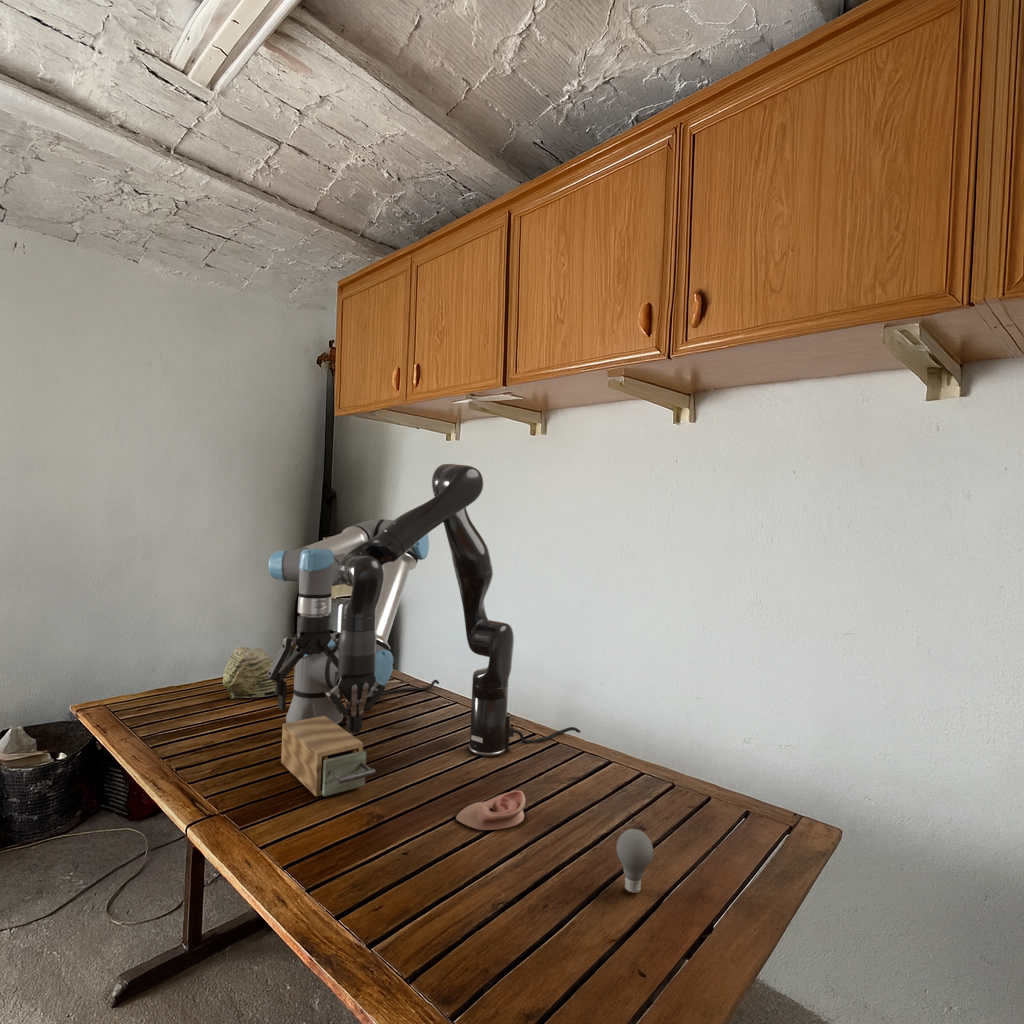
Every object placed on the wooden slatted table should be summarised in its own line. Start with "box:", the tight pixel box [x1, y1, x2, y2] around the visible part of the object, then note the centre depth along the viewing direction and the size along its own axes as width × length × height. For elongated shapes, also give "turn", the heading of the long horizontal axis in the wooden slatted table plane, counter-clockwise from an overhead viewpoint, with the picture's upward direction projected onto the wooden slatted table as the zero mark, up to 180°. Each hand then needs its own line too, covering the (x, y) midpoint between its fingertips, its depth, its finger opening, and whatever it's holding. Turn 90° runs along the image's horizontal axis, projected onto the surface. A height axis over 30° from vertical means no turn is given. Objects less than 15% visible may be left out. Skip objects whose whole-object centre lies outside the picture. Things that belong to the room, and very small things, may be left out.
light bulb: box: [615, 828, 654, 894], centre depth 106 cm, size 6×6×10 cm
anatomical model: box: [455, 789, 526, 831], centre depth 128 cm, size 13×4×12 cm
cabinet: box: [280, 716, 364, 798], centre depth 145 cm, size 21×10×9 cm, turn 40°
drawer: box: [321, 749, 376, 798], centre depth 140 cm, size 25×9×7 cm, turn 40°
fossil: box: [222, 646, 288, 699], centre depth 198 cm, size 9×18×15 cm, turn 132°
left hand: (310, 704), depth 150 cm, fingers open, 13 cm apart
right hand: (354, 732), depth 132 cm, fingers closed
